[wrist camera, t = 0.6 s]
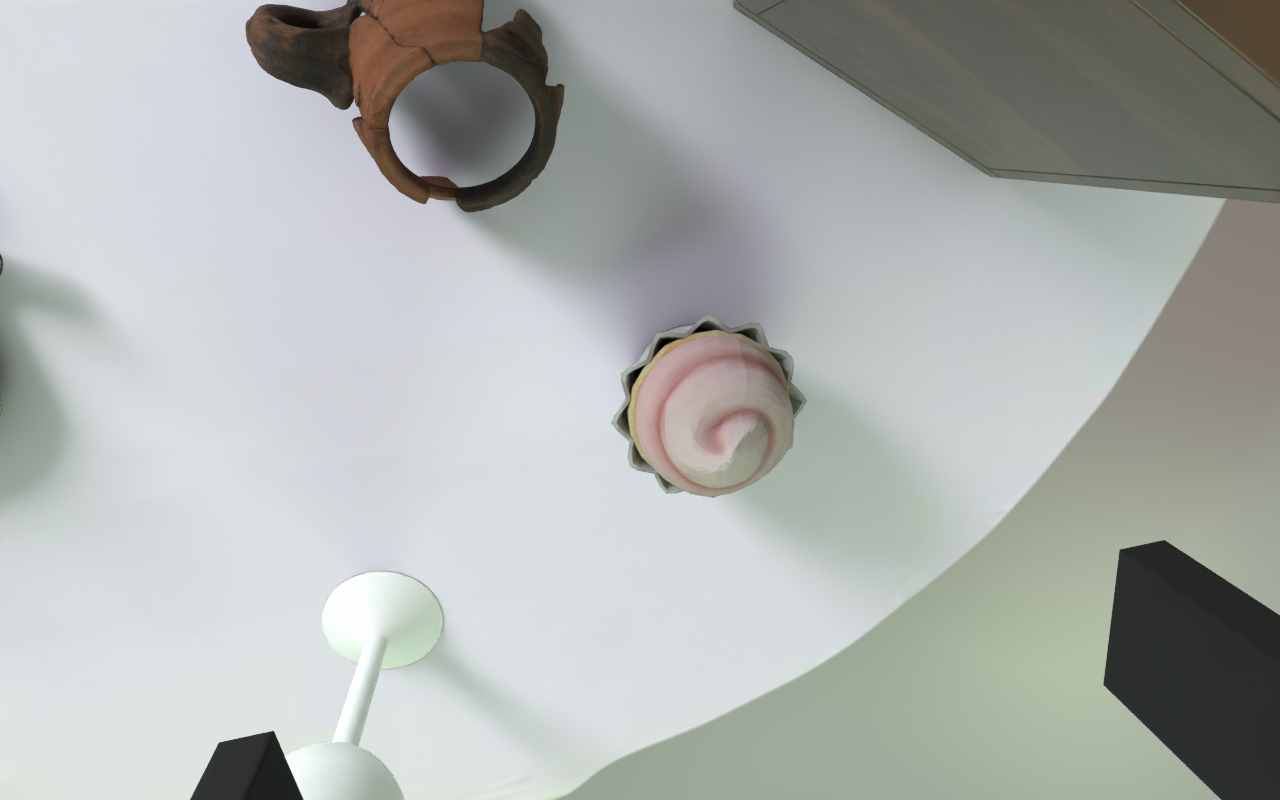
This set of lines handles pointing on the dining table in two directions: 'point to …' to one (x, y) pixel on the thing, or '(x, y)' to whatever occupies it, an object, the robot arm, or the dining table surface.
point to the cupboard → (1067, 84)
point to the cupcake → (709, 407)
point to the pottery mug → (408, 74)
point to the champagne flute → (366, 679)
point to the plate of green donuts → (0, 267)
